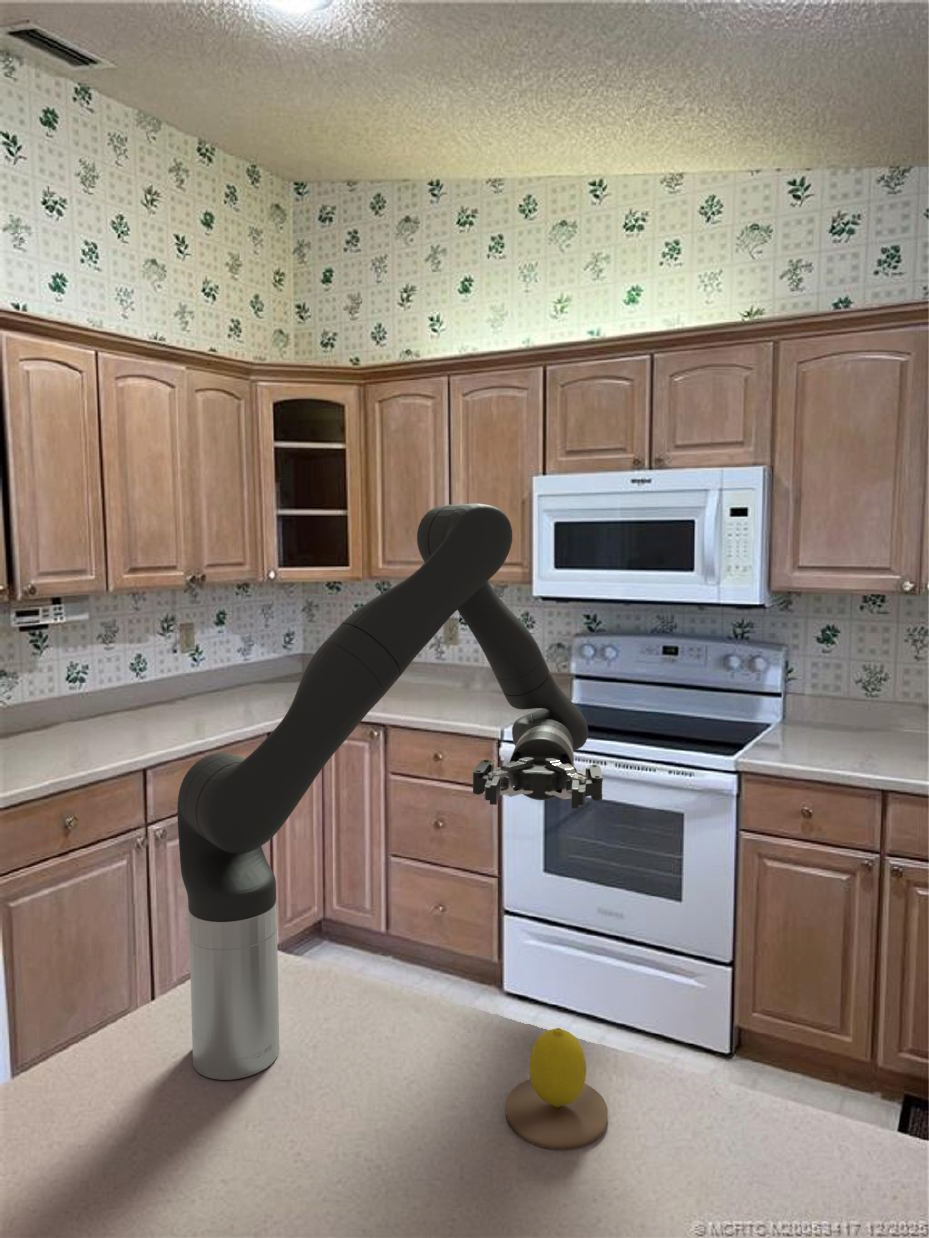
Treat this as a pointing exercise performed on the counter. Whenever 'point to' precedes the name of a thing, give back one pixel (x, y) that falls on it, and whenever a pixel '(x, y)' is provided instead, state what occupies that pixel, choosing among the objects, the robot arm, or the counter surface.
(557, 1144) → the walnut board
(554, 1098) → the lemon
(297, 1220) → the counter surface
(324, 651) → the robot arm
